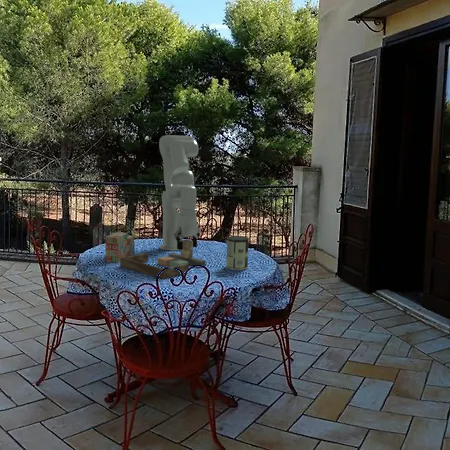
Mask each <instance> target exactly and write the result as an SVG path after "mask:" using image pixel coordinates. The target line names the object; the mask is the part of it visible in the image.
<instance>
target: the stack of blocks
mask: <svg viewBox="0 0 450 450" xmlns="http://www.w3.org/2000/svg"><path fill="white" fill-rule="evenodd" d="M128 234H129V233H128V232H114V233H111V234H109V235H106V236H105V263H114V262H116V263H117V264H119V263H120V258H123V257H128V256H134V254H135V245H136V244H135V236H134V235H128Z"/></svg>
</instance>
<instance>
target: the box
mask: <svg viewBox="0 0 450 450" xmlns="http://www.w3.org/2000/svg"><path fill="white" fill-rule="evenodd" d="M148 257H149V254H148V253H146V252H145V253H139V254H136V255H134V254H133V255H131V256H128V257H123V258H120V262H119V264H120V265H119V266H120V268H124V269H127V270H130V271H135V272H138V273H141V274H145V275H147V276H152V277H154V278H158V277H157V275H158V273H159V272H160V271H162V270H163V269H164V268H162V267H158V266H154V265H151V264H148V262H149V261H148V259H149V258H148ZM168 268H177V269H179V270H181V271H182V272H183V273H184V272H185V271H186V270H187V269H189V270H190V265H189V264H183V265H178V266H174V267H170V266H168ZM179 274H180V272H179V271H178V270H176V269H166V270H164V271H163V272H162V273H161V274H160V276H159V278H158V279H162V280H166V279H169V277H170V278H173V277H172V276H174V277H177V276H176V275H178V276H180V275H179Z"/></svg>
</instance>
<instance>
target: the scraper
mask: <svg viewBox="0 0 450 450" xmlns="http://www.w3.org/2000/svg"><path fill="white" fill-rule="evenodd" d="M182 241H183V249H182V250H180V254H179V253H176V252H170V253H168V254H167V255H168V256H167V257H171V258H175V259H176V260H178V259H179V260H183V261H188V264H189V266H190V265H191V266H193V265H203V266H205V267H206V266H207V265H206V262H207V260H204V259H201V258H200V259H199V258H197V257H196V258H195V257H193V254H194V251H193V249H194V247H193V241H192V240H191V239H183V240H182Z"/></svg>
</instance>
